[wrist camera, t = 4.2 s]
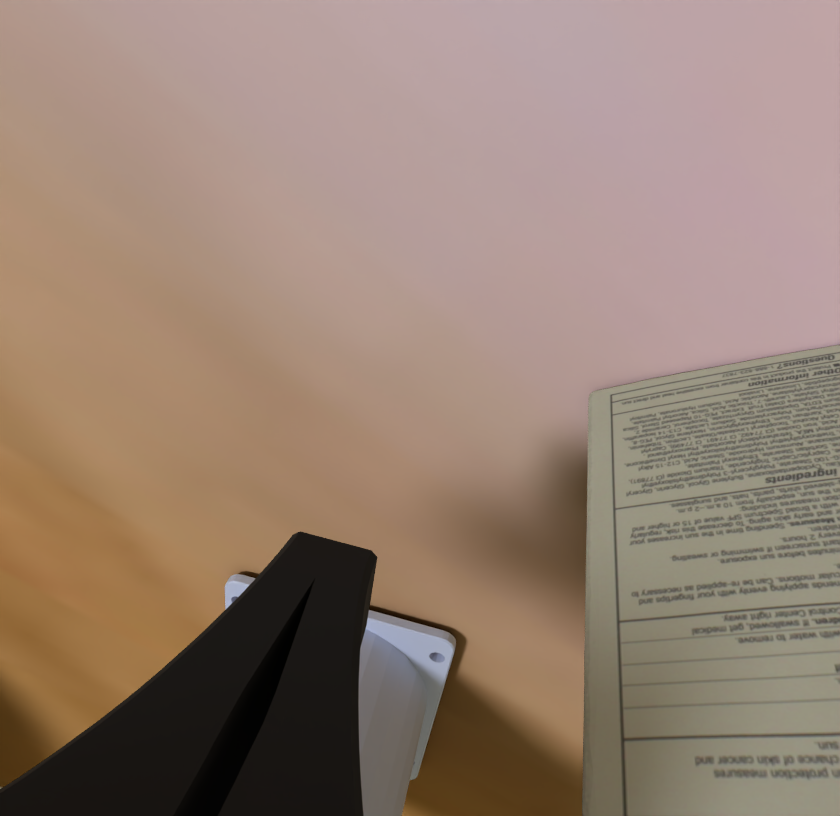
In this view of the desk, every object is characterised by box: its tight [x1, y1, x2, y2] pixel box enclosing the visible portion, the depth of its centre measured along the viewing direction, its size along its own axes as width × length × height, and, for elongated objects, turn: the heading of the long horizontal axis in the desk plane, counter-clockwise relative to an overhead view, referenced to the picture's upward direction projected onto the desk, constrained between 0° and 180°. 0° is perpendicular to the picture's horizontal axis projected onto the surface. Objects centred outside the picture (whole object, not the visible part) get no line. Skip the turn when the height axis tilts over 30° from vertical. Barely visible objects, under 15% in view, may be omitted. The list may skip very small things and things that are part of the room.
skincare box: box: [582, 345, 840, 816], centre depth 12 cm, size 6×4×12 cm
